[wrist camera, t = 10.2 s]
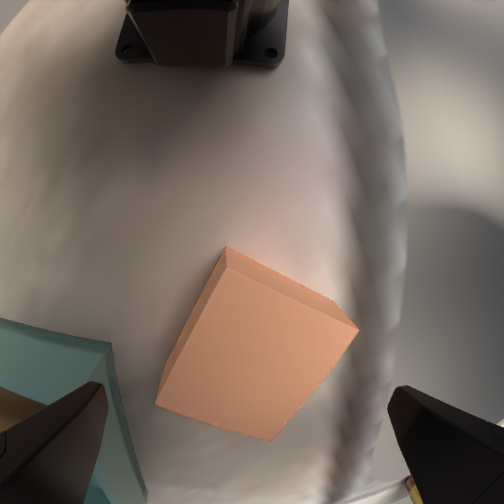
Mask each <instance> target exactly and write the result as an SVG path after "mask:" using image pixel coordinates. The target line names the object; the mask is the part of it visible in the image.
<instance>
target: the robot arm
mask: <svg viewBox="0 0 504 504" xmlns="http://www.w3.org/2000/svg"><path fill="white" fill-rule="evenodd" d="M124 1H125V3H126V4H127V7H126V11H127V14H126V17H125V20H124V23H123V26H122V30H121V33H120V36H119V39H118V43H117V46H116V50H115V55H116V57H117V58H118V59H119V60H120V61H121V62H122V63H139V62H156V63H157V64H158V65H159V66H203V67H221V68H225V67H227V66H229V65H230V64H240V65H250V66H258V67H266V68H274V67H277V66H278V65H280V64H281V62H282V60H283V58H284V54H285V42H286V30H287V17H288V5H289V0H124ZM129 48H133V50H132V51H131V52H130V53H129V54H126V55H125V54H124V52H125V51H126V50H127V49H129ZM266 52H272V53H274V54H275V55H276V58H273V59H270V58H267V57H266V56H265V54H264V53H266ZM108 410H109V403H108V399H107V395H106V391H105V387H104V385H103V384H102V383H100V382H95V381H89V382H87V383H85V384H84V385H82V386H80V387H79V388H77V389H75V390H74V391H72V392H70V393H68V394H67V395H65V396H63V397H62V398H60V399H58V400H57V401H55V402H53V403H51V404H50V405H48V406H46V407H45V408H43V409H41V410H39V411H38V412H36V413H34V414H32V415H31V416H29V417H27V418H25V419H24V420H22V421H20V422H18V423H17V424H15V425H13V426H11V427H10V428H8V429H7V431H6V430H4V431H2V432H0V504H84V502H85V498H86V494H87V491H88V488H89V484H90V481H91V478H92V474H93V471H94V468H95V465H96V462H97V459H98V455H99V452H100V448H101V443H102V438H103V433H104V428H105V424H106V419H107V415H108ZM387 410H388V414H389V417H390V420H391V423H392V426H393V429H394V432H395V436H396V439H397V442H398V445H399V447H400V450H401V452H402V455H403V457H404V459H405V461H406V464H407V466H408V468H409V470H410V473H411V475H412V478H413V480H414V483H415V485H416V487H417V490H418V492H419V495H420V497H421V500H422V502H423V504H504V427H501V426H498V425H496V424H493V423H491V422H487V421H486V420H483V419H481V418H479V417H476V416H474V415H472V414H469V413H467V412H465V411H462V410H460V409H458V408H456V407H453V406H451V405H449V404H447V403H445V402H442V401H440V400H438V399H436V398H434V397H431V396H429V395H427V394H425V393H423V392H421V391H419V390H416V389H414V388H412V387H410V386H407V385H405V386H399V387H397V388H396V389H395V390H394V392H393V395H392V397H391V399H390V401H389V403H388V407H387Z"/></svg>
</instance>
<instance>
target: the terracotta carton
mask: <svg viewBox="0 0 504 504" xmlns="http://www.w3.org/2000/svg"><path fill="white" fill-rule="evenodd" d="M358 331H359V329H358V328H357V327H356V326H355V325H354V324H353V323H352V322H351V320H350V319H349V318H348V317H347V316H346V315H345V314H344V313H343V312H342V310H341V309H340V308H339V307H338V306H337V305H336V304H335V303H334V302H333V300H331V299H329V298H327V297H325V296H323V295H321V294H319V293H317V292H315V291H313V290H311V289H309V288H307V287H305V286H303V285H301V284H299V283H297V282H295V281H293V280H291V279H289V278H287V277H285V276H283V275H281V274H279V273H277V272H275V271H273V270H271V269H270V268H268V267H266V266H264V265H262V264H260V263H258V262H256V261H254V260H252V259H250V258H248V257H246V256H244V255H242V254H240V253H238V252H236V251H234V250H232V249H230V248H228V247H227V246H226V247H225V249H224V251H223V253H222V255H221V256H220V258H219V260H218V262H217V264H216V266H215V268H214V270H213V272H212V273H211V275H210V277H209V279H208V281H207V283H206V285H205V287H204V289H203V291H202V293H201V295H200V296H199V298H198V300H197V302H196V304H195V306H194V308H193V310H192V312H191V314H190V316H189V318H188V320H187V322H186V324H185V326H184V328H183V330H182V332H181V333H180V335H179V337H178V339H177V341H176V343H175V345H174V347H173V349H172V351H171V353H170V355H169V357H168V359H167V361H166V363H165V367H164V370H163V374H162V377H161V381H160V385H159V388H158V392H157V396H156V400H155V403H154V404H156V405H158V406H160V407H163V408H165V409H168V410H170V411H173V412H175V413H178V414H181V415H183V416H186V417H189V418H192V419H195V420H197V421H200V422H203V423H206V424H209V425H212V426H216V427H219V428H222V429H225V430H229V431H232V432H236V433H239V434H243V435H247V436H251V437H255V438H259V439H263V440H267V441H271V440H272V439H273V438H274V437H275V436H276V435H277V434H278V433H279V432H280V431H281V429H282V428H283V427H284V426H285V425H286V424H287V423H288V422H289V421H290V419H291V418H292V417H293V416H294V415H295V414H296V413H297V411H298V410H299V409H300V408H301V407H302V406H303V404H304V403H305V402H306V401H307V400H308V398H309V397H310V396H311V395H312V393H313V392H314V391H315V390H316V388H317V387H318V386H319V385H320V383H321V382H322V381H323V380H324V378H325V377H326V376H327V374H328V373H329V372H330V370H331V369H332V368H333V366H334V365H335V364H336V362H337V361H338V360H339V358H340V357H341V356H342V354H343V353H344V351H345V350H346V349H347V347H348V346H349V344H350V343H351V342H352V340H353V339H354V337H355V336H356V334H357V333H358Z"/></svg>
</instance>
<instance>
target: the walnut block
mask: <svg viewBox="0 0 504 504" xmlns="http://www.w3.org/2000/svg"><path fill="white" fill-rule="evenodd" d="M46 406H47V405H45V404H42V403H39V402H37V401H34V400H31V399H29V398H26V397H24V396H21V395H19V394H16V393H14V392H12V391H9V390H7V389H5V388H2V387H0V432H2V431H4V430H6V431H7V429H8V428H10V427H11V426H13V425H15V424H17V423H18V422H20V421H22V420H24V419H25V418H27V417H29V416H31V415H32V414H34V413H36V412H38V411H39V410H41V409H43V408H45V407H46Z"/></svg>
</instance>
